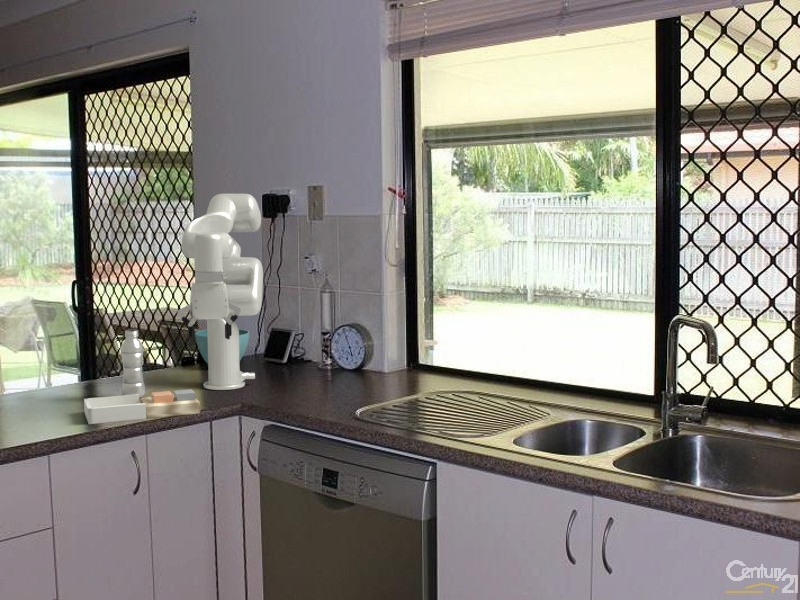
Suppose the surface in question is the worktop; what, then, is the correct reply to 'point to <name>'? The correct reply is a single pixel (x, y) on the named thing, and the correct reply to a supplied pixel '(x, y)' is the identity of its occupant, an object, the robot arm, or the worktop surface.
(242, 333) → the teal bowl
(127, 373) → the plastic bottle
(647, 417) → the worktop surface
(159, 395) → the terracotta tile
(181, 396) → the slate tile
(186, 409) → the plate
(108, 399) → the box
